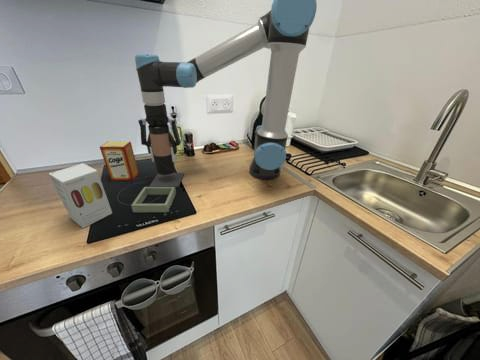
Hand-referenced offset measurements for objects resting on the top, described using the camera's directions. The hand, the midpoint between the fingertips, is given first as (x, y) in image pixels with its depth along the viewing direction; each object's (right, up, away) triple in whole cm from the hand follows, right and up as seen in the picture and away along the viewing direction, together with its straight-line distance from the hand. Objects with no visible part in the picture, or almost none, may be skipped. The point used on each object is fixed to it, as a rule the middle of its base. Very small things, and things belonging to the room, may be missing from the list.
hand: (164, 160), depth 84 cm
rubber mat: (0, -8, +5) cm, 10 cm away
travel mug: (0, -5, +3) cm, 5 cm away
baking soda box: (-20, -7, +6) cm, 22 cm away
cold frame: (0, -17, -9) cm, 19 cm away
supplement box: (-18, -21, -17) cm, 32 cm away
